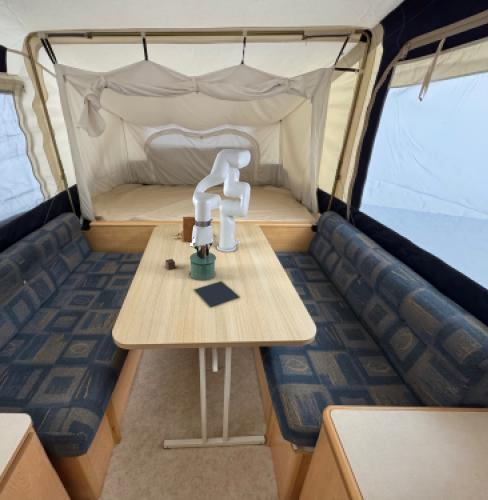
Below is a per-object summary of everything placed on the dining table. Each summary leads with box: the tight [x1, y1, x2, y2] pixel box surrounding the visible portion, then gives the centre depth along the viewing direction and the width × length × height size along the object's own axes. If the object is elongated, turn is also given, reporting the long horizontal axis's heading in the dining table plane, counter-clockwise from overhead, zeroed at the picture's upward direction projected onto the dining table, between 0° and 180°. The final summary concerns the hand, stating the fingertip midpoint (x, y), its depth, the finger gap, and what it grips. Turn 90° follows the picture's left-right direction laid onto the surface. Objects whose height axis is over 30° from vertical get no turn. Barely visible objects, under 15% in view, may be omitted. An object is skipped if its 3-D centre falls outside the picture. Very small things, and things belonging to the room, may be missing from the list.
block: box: [165, 258, 176, 271], centre depth 146 cm, size 4×4×4 cm
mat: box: [194, 281, 240, 308], centre depth 125 cm, size 15×15×1 cm
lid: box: [189, 245, 217, 265], centre depth 136 cm, size 14×14×7 cm
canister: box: [189, 259, 216, 281], centre depth 139 cm, size 13×13×8 cm
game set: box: [174, 215, 215, 243], centre depth 183 cm, size 28×22×19 cm
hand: (202, 255), depth 137 cm, fingers closed on lid, 3 cm apart
